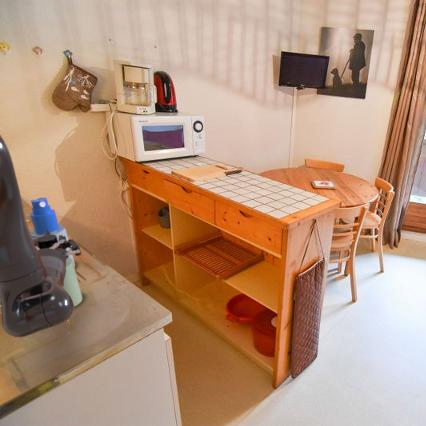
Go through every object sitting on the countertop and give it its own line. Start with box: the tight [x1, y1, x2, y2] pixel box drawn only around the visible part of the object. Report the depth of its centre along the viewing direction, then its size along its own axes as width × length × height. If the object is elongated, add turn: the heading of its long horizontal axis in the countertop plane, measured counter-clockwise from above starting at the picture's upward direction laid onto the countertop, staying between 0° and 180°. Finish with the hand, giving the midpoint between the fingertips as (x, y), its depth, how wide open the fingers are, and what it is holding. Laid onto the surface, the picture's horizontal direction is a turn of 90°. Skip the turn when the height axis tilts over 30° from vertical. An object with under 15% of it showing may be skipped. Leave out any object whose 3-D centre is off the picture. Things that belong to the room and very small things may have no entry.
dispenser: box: [64, 257, 83, 308], centre depth 89 cm, size 8×8×15 cm
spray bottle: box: [29, 197, 76, 268], centre depth 101 cm, size 9×9×25 cm
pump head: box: [37, 231, 58, 249], centre depth 86 cm, size 7×4×4 cm, turn 35°
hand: (49, 240), depth 86 cm, fingers open, 4 cm apart
